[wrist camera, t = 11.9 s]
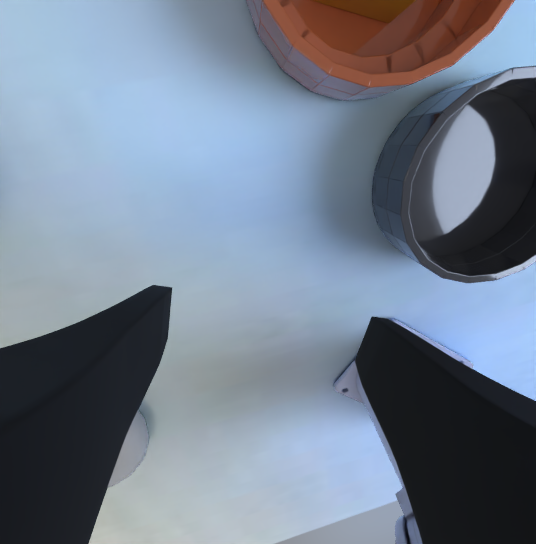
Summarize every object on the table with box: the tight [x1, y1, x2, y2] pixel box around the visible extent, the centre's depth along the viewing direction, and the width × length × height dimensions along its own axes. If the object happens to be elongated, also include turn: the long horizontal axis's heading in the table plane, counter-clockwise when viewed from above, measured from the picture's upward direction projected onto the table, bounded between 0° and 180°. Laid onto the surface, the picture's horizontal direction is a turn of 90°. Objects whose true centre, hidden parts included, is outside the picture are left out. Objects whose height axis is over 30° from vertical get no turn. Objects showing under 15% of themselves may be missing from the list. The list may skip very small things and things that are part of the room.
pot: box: [372, 66, 536, 283], centre depth 17 cm, size 11×11×4 cm
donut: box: [108, 410, 149, 487], centre depth 24 cm, size 10×4×10 cm
